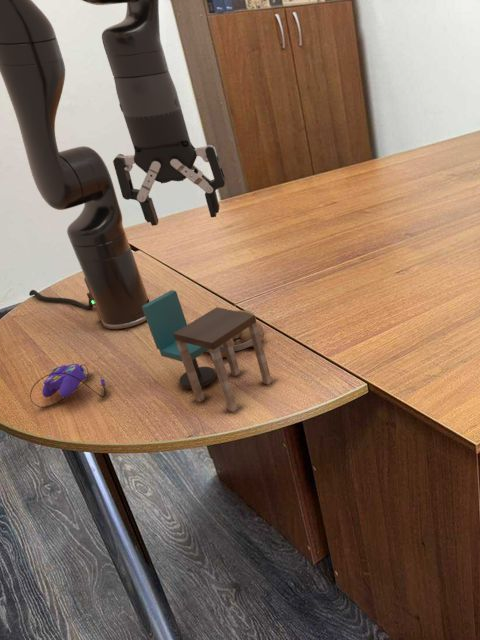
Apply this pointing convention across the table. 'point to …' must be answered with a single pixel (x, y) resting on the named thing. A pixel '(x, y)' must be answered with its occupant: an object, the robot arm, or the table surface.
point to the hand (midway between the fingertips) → (184, 219)
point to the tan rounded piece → (242, 338)
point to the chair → (163, 323)
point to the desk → (211, 335)
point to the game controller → (65, 381)
